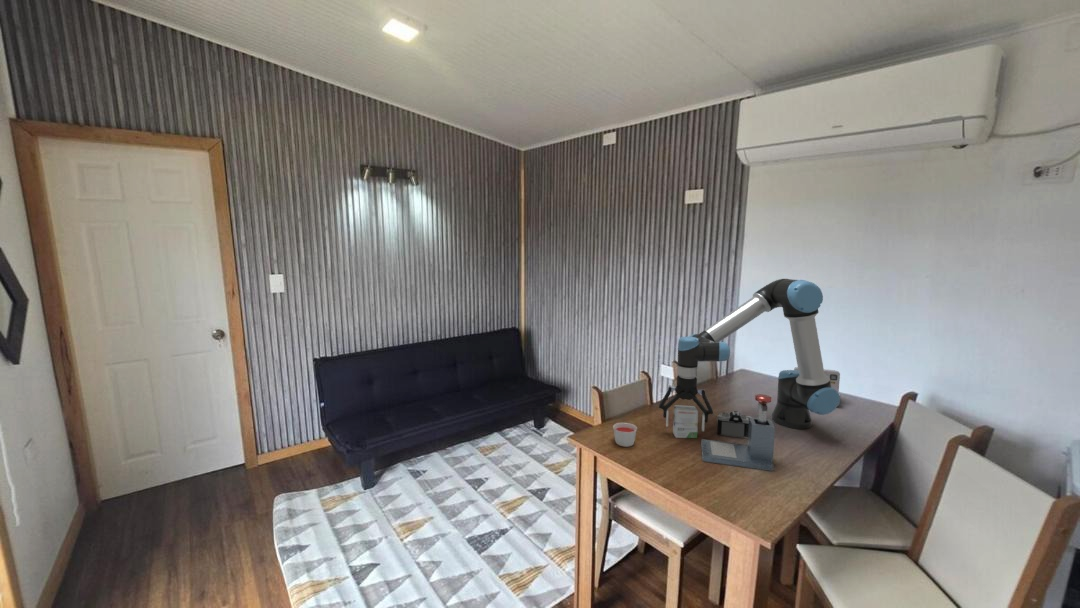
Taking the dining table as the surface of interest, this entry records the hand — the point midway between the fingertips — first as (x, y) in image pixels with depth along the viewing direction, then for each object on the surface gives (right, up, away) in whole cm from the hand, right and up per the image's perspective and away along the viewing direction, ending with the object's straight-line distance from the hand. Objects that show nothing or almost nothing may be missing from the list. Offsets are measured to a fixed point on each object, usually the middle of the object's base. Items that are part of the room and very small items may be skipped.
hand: (684, 427), depth 168 cm
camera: (+21, -3, +2) cm, 22 cm away
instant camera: (+80, +2, +43) cm, 91 cm away
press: (+12, -5, -17) cm, 22 cm away
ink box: (0, -4, 0) cm, 4 cm away
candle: (-25, -5, -6) cm, 26 cm away
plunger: (+20, +2, -21) cm, 29 cm away
